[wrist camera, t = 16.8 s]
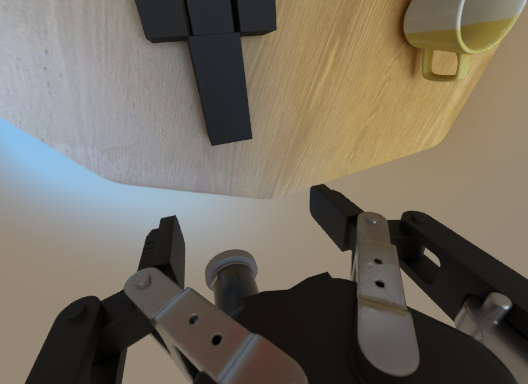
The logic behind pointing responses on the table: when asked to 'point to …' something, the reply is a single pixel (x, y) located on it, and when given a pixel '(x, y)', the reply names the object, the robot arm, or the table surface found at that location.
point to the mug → (458, 29)
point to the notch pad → (174, 24)
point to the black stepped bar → (219, 70)
